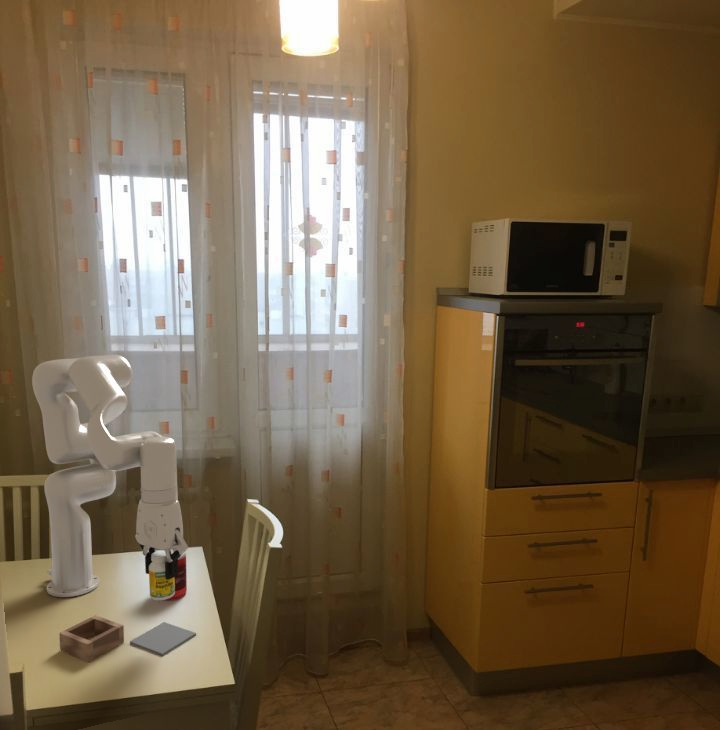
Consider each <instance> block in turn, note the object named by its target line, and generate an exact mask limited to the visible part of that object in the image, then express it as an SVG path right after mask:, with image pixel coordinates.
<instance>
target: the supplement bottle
mask: <svg viewBox="0 0 720 730" xmlns="http://www.w3.org/2000/svg"><path fill="white" fill-rule="evenodd" d="M151 560H152V563H151V564H150V565H149V574H148V581H149V596H150V598H151V599H152V600H154V601H166V599H169V598H171V597H172V596H173V595H174V594H175V579H174V577H173V578H171V579H169V580H167V579H166V578H165V562H167V558H166V554H165V551H159V550H156V551H155V552H154V553H152V555H151Z"/></svg>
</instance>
